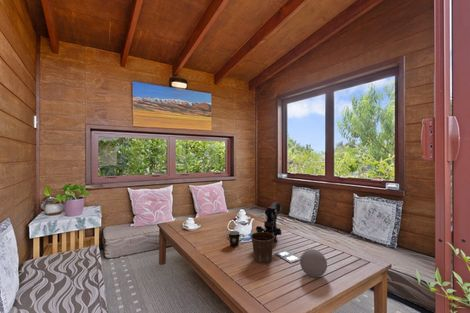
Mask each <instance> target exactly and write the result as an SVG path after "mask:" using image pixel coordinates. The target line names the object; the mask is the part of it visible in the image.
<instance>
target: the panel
mask: <svg viewBox="0 0 470 313" xmlns="http://www.w3.org/2000/svg"><path fill="white" fill-rule="evenodd" d="M274 255H275V256H277V257H279V258H280V259H282V260H284V261H285V262H287V263H289V264H293V263H296V262H300V258H301V257H299V256H297V255H295V254H293V253H291V252H289V251H288V250H286V249H285V250H282V251H279V252H274Z"/></svg>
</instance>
